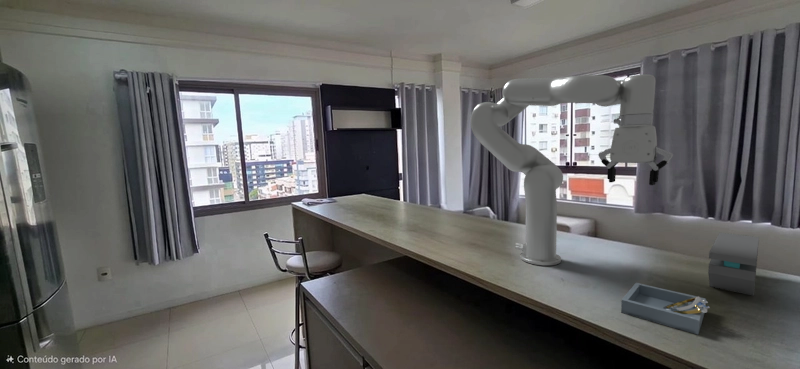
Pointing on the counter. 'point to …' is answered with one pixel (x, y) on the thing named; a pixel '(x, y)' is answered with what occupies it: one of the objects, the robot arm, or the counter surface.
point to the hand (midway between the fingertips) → (631, 183)
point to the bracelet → (697, 301)
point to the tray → (661, 307)
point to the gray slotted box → (734, 263)
